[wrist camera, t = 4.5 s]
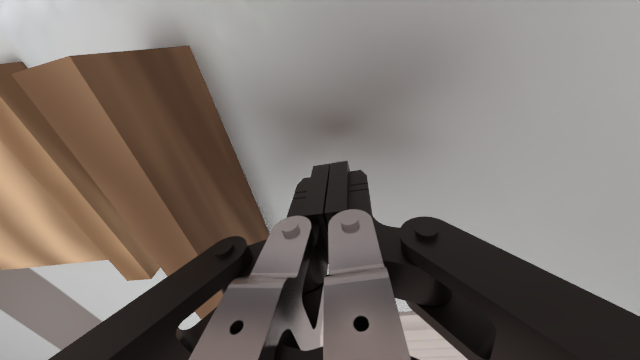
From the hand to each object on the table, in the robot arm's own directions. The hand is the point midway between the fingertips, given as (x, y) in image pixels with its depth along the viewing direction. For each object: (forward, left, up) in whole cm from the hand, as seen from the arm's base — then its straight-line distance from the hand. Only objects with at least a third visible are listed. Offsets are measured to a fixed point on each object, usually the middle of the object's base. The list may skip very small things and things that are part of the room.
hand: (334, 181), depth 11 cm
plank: (+8, 0, -5) cm, 10 cm away
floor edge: (+26, 0, -5) cm, 27 cm away
